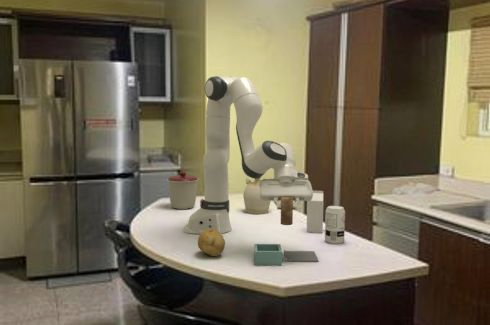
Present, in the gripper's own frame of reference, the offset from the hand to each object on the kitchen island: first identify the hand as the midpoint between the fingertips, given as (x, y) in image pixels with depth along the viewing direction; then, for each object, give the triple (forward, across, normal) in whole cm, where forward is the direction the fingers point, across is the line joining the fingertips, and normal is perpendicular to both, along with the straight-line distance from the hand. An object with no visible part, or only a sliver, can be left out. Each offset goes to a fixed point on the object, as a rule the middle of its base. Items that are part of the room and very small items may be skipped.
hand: (287, 208), depth 182 cm
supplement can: (-4, +23, +32) cm, 39 cm away
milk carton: (-16, +16, +45) cm, 50 cm away
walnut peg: (+4, 0, +5) cm, 6 cm away
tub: (+15, -7, +12) cm, 21 cm away
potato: (+10, -29, +17) cm, 36 cm away
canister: (-51, -52, +79) cm, 107 cm away
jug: (-45, -10, +73) cm, 86 cm away
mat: (+12, +6, +16) cm, 21 cm away
